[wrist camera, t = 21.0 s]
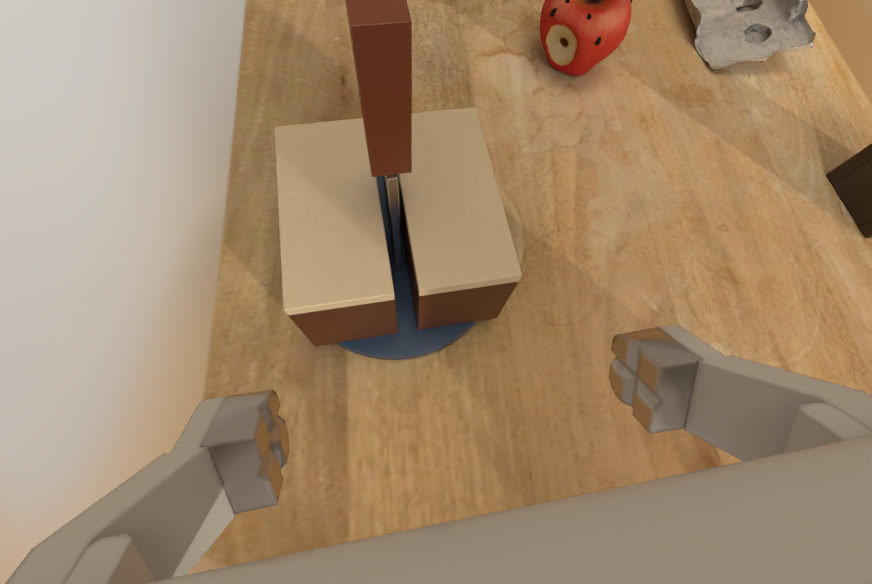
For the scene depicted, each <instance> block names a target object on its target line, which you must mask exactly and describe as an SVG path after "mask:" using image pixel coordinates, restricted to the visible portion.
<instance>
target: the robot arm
mask: <svg viewBox="0 0 872 584" xmlns="http://www.w3.org/2000/svg"><path fill="white" fill-rule="evenodd" d="M611 350H612V351H613V353H614V354H615V355H616V358H615V359H614V361H613V362H612V363H611V365H610V371H609V378H610V382H611V386H612V389H613V391H614V393H615V395H616V396H617V397H618V398H619V400H620V401H621V402H622V403H625V404H627V405H629V406H631V407H633V415H634V417H635V418H636V419H637V420H638V421H639V422H640V423H641V424H642V426H643V427H644V428H645V429H646V430H647V431H648V432H649V433H650V434H652V433H658V432H664V431H671V430H677V429H683V428H685V430H686V431H688V432H690V433H692V434H693V435H695V436H697V437H699V438H701V439H703V440H705V441H707V442H708V443H710V444H712V445H714V446H716V447H718V448H720V449H721V450H723V451H725V452H727V453H729V454H731V455H733V456H734V457H736V458H738V459H740V460H742V461H744V462H739V463H735V464H730V465H725V466H720V467H715V468H710V469H705V470H700V471H695V472H690V473H685V474H680V475H675V476H670V477H665V478H660V479H656V480H651V481H646V482H641V483H636V484H631V485H626V486H621V487H616V488H611V489H606V490H601V491H596V492H591V493H586V494H581V495H576V496H571V497H567V498H562V499H557V500H552V501H547V502H542V503H537V504H532V505H527V506H523V507H518V508H513V509H508V510H503V511H498V512H493V513H488V514H484V515H479V516H474V517H469V518H464V519H459V520H454V521H449V522H445V523H440V524H435V525H430V526H425V527H420V528H415V529H410V530H405V531H401V532H396V533H391V534H386V535H381V536H376V537H371V538H366V539H361V540H356V541H351V542H346V543H342V544H337V545H332V546H327V547H322V548H317V549H312V550H307V551H302V552H297V553H292V554H287V555H283V556H278V557H273V558H268V559H263V560H258V561H253V562H248V563H243V564H238V565H233V566H229V567H224V568H219V569H214V570H209V571H204V572H199V573H194V574H189V575H187V574H188V573H189V572H190V571H191V569H192V568H193V567H194V566H195V565H196V563H197V562H198V561H199V560H200V559H201V557H202V556H203V555H204V554H205V552H206V551H207V550H208V549H209V548H210V546H211V545H212V544H213V543H214V541H215V540H216V539H217V538H218V537H219V535H220V534H221V533H222V532H223V530H224V529H225V528H226V527H227V526H228V524H229V523H230V522H231V521H232V519H233V518H234V517H235V515H234V514H238V513H242V512H247V511H251V510H256V509H260V508H265V507H270V506H274V505H277V504H278V499H279V495H280V491H281V486H282V482H283V477H282V474H281V470H280V469H281V468H282V467H283V466H284V465H285V464H286V463H287V459H288V454H289V436H288V429H287V425H286V422H285V420H284V419H282V418H281V417H280V416H278V412H279V408H280V402H279V399H278V396H277V393H276V392H275V391H274V390H268V391H260V392H253V393H246V394H239V395H232V396H228V397H225V396H224V397H218V398H213V399H207V400H204V401H202V402H200V403H199V404H198V406H197V408H196V409H195V411H194V413H193V415H192V416H191V418H190V420H189V422H188V423H187V425H186V427H185V429H184V430H183V432H182V434H181V436H180V437H179V439H178V441H177V442H176V444H175V446H174V448H173V449H172V451H171V453H165V454H162V455H161V456H159V457H158V458H157V459H155V460H154V461H152V462H151V463H150V464H148V465H147V466H146V467H144V468H143V469H141V470H140V471H139V472H137V473H136V474H134V475H133V476H132V477H130V478H129V479H128V480H126V481H125V482H123V483H122V484H121V485H119V486H118V487H117V488H115V489H114V490H113V491H111V492H110V493H108V494H107V495H106V496H104V497H103V498H102V499H100V500H99V501H97V502H96V503H94V504H93V505H92V506H90V507H89V508H88V509H86V510H85V511H83V512H82V513H81V514H79V515H78V516H77V517H75V518H74V519H72V520H71V521H70V522H68V523H67V524H66V525H64V526H63V527H61V528H60V529H59V530H57V531H56V532H54V533H53V534H52V535H50V536H49V537H48V538H47V539H45V540H44V541H42V542H41V543H39V544H38V545H37V546H35V547H34V548H32V549H31V551H30V552H29V553H28V554H27V556H26V557H25V558H24V560H23V561H22V562H21V564H20V565H19V566H18V567H17V569H16V570H15V571H14V573H13V574H12V575H11V577H10V578H9V579H8V581H7V582H6V583H5V584H872V396H871V395H869V394H867V393H866V392H864V391H860V390H856V389H853V388H849V387H845V386H842V385H838V384H834V383H831V382H827V381H823V380H820V379H816V378H812V377H809V376H805V375H801V374H798V373H794V372H791V371H787V370H783V369H780V368H776V367H772V366H769V365H765V364H761V363H758V362H754V361H750V360H747V359H743V358H739V357H736V356H725V355H723V354H722V353H720V352H719V351H717V350H716V349H714V348H713V347H711V346H710V345H708V344H707V343H705V342H704V341H702V340H701V339H699V338H698V337H696V336H695V335H693V334H692V333H690V332H689V331H687V330H686V329H684V328H683V327H681V326H680V325H675V324H670V325H665V326H660V327H655V328H651V329H646V330H640V331H635V332H629V333H624V334H618V335H615V337H614V339H613V341H612V349H611Z"/></svg>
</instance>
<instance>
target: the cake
mask: <svg viewBox="0 0 872 584" xmlns="http://www.w3.org/2000/svg"><path fill="white" fill-rule="evenodd" d="M274 132H275V152H276V172H277V192H278V212H279V232H280V252H281V272H282V292H283V310H284V311H285V312H286V314H287V315H288V316H289V317H290V318H291V319H292V320H293V321H294V323H295V324H296V325H297V326H298V327H299V328H300V329H301V331H302V332H303V333H304V334H305V335H306V336H307V337H308V339H309V340H310V341H311V342H312V343H313V344H314V345H315V346H320V345H326V344H332V343H337V344H338V345H340V346H341V347H343V348H345V349H348V350H350V351H352V352H354V353H357V354H360V355H364V356H367V357H372V358H378V359H388V360H400V359H411V358H416V357H420V356H424V355H428V354H430V353H433V352H436V351H438V350H440V349H442V348H444V347H446V346H448V345H450V344H452V343H453V342H454V341H456V340H457V339H459V338H460V337H461V336H463V335H464V334H465V333H466V332H467V331H468V330H469V329H470V328H471V327H472V326H473V325H474V324H475V322H476V321H479V320H486V319H492V318H497V316H498V315H499V313H500V311H501V310H502V308H503V306H504V305H505V303H506V301H507V300H508V298H509V297H510V295H511V293H512V292H513V290H514V288H515V287H516V285H517V283H518V281H519V280H520V279H521V277H522V272H521V268H520V265H519V261H518V257H517V254H516V250H515V246H514V243H513V239H512V236H511V232H510V228H509V225H508V221H507V217H506V214H505V210H504V207H503V203H502V199H501V196H500V192H499V188H498V185H497V181H496V178H495V174H494V170H493V167H492V163H491V159H490V156H489V152H488V148H487V145H486V141H485V138H484V134H483V130H482V127H481V123H480V119H479V116H478V112H477V109H476V107H470V108H459V109H449V110H439V111H429V112H418V113H412V172H411V173H403V174H397V175H398V187H399V206H400V226H401V246H402V266H403V271H400V272H395V267H394V261H393V255H392V249H391V243H390V237H389V229H388V219H387V209H386V200H385V190H384V180H383V176H378V177H372V176H371V170H370V163H369V157H368V151H367V144H366V138H365V131H364V125H363V118H358V119H348V120H337V121H327V122H317V123H307V124H296V125H286V126H276V127H274Z"/></svg>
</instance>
